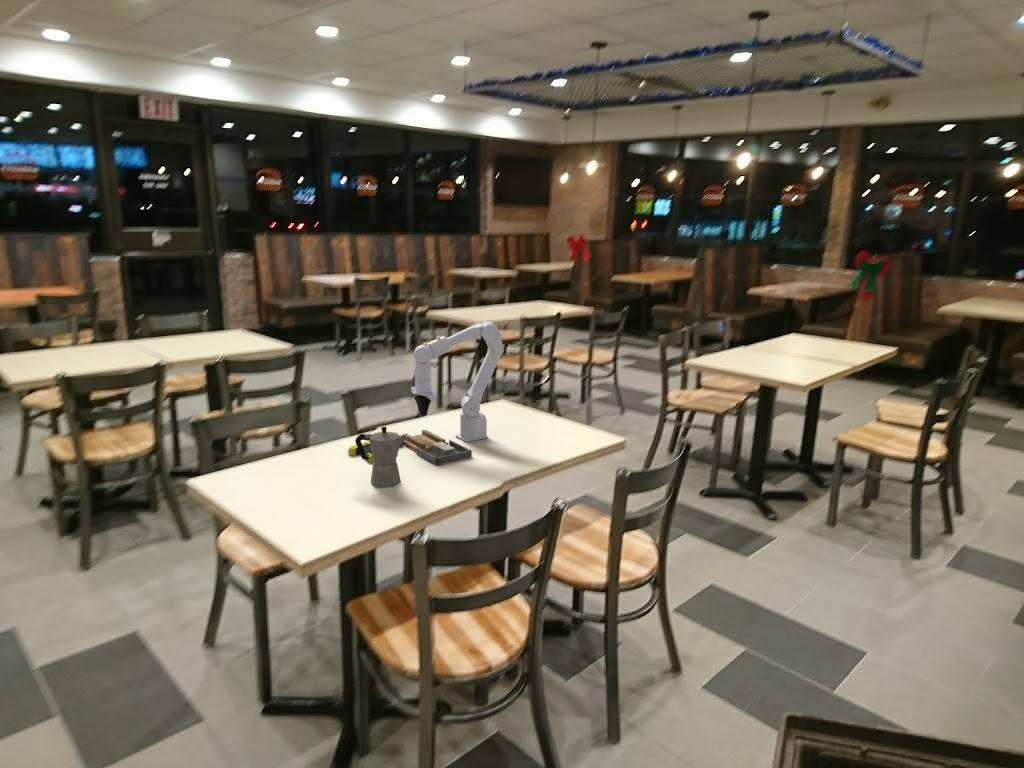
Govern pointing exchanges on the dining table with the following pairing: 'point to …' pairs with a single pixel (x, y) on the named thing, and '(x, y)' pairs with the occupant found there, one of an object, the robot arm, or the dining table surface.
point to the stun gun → (367, 448)
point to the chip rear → (437, 447)
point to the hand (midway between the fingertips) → (423, 415)
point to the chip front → (446, 450)
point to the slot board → (422, 440)
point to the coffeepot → (383, 456)
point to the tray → (459, 454)
